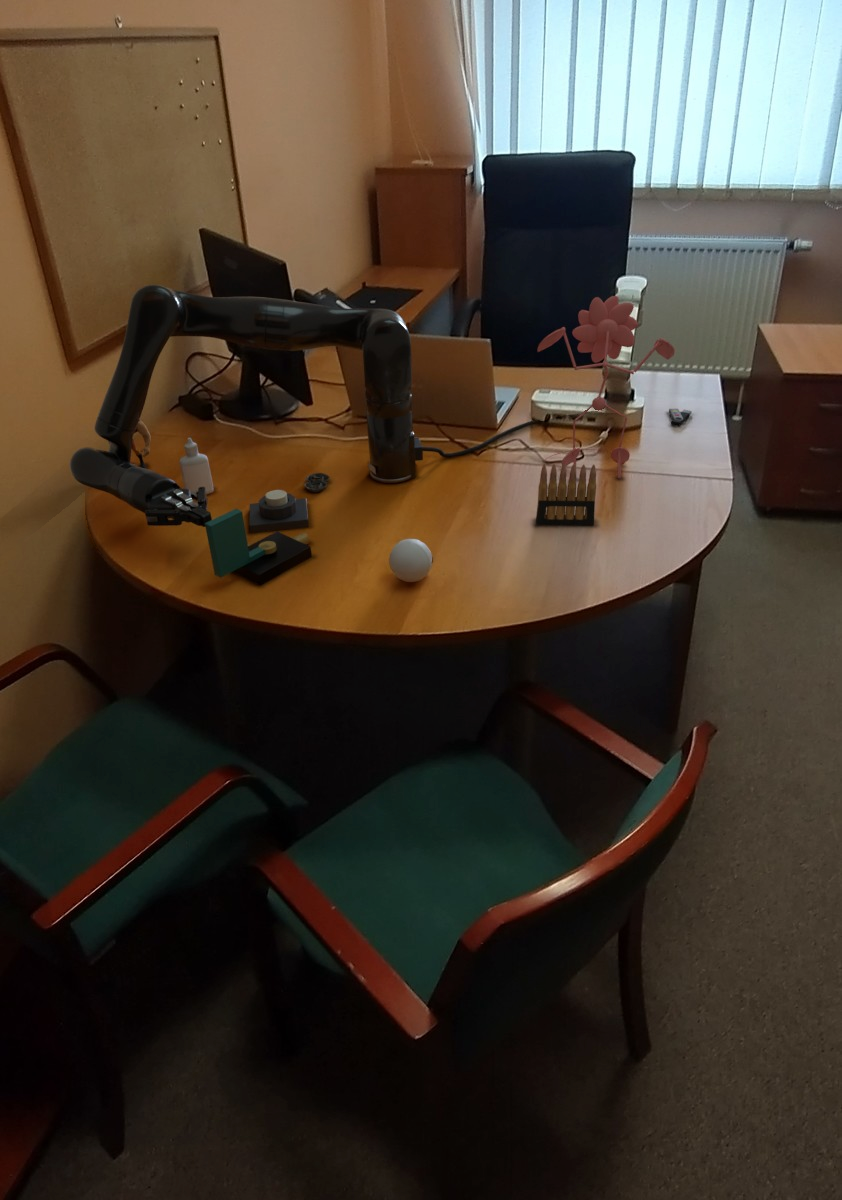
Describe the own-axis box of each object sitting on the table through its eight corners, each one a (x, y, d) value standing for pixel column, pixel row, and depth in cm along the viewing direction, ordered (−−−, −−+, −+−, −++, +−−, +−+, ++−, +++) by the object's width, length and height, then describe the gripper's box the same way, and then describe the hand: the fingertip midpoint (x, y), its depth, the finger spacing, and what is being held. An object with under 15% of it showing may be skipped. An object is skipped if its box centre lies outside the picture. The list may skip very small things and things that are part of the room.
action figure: (110, 470, 184) (93, 404, 175) (116, 463, 187) (100, 398, 178) (153, 470, 183) (138, 404, 175) (158, 463, 186) (143, 398, 178)
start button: (287, 496, 163) (286, 488, 162) (288, 506, 159) (286, 498, 158) (266, 498, 162) (265, 490, 161) (266, 508, 159) (265, 500, 158)
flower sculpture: (661, 479, 172) (687, 303, 152) (535, 483, 172) (544, 308, 153) (644, 448, 185) (665, 282, 165) (526, 452, 185) (534, 287, 165)
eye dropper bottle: (209, 498, 171) (198, 443, 164) (183, 497, 172) (171, 442, 165) (216, 488, 175) (206, 434, 168) (191, 487, 176) (180, 433, 169)
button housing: (307, 505, 167) (304, 487, 165) (309, 527, 160) (306, 508, 158) (251, 511, 166) (248, 493, 164) (250, 533, 159) (247, 514, 156)
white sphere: (436, 588, 141) (435, 550, 137) (392, 592, 140) (390, 554, 136) (428, 557, 149) (427, 521, 145) (386, 561, 149) (384, 525, 145)
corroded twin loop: (302, 494, 171) (302, 489, 171) (307, 477, 178) (306, 472, 177) (327, 493, 171) (327, 488, 170) (330, 476, 178) (330, 471, 177)
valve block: (290, 535, 157) (288, 525, 156) (323, 550, 152) (322, 540, 151) (227, 568, 148) (225, 557, 147) (260, 585, 143) (258, 574, 142)
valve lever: (268, 544, 150) (261, 494, 144) (280, 549, 148) (272, 499, 143) (212, 573, 142) (201, 521, 137) (223, 579, 140) (213, 527, 135)
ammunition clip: (536, 525, 158) (539, 466, 151) (535, 520, 159) (538, 462, 153) (593, 525, 157) (599, 466, 150) (593, 521, 159) (598, 462, 152)
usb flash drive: (680, 426, 194) (680, 422, 193) (657, 422, 196) (658, 418, 196) (692, 414, 200) (692, 410, 199) (670, 410, 202) (671, 406, 202)
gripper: (111, 486, 146) (170, 515, 136) (175, 460, 154) (235, 486, 144) (121, 524, 150) (179, 555, 140) (183, 497, 158) (241, 524, 148)
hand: (207, 520), depth 142 cm, fingers closed
